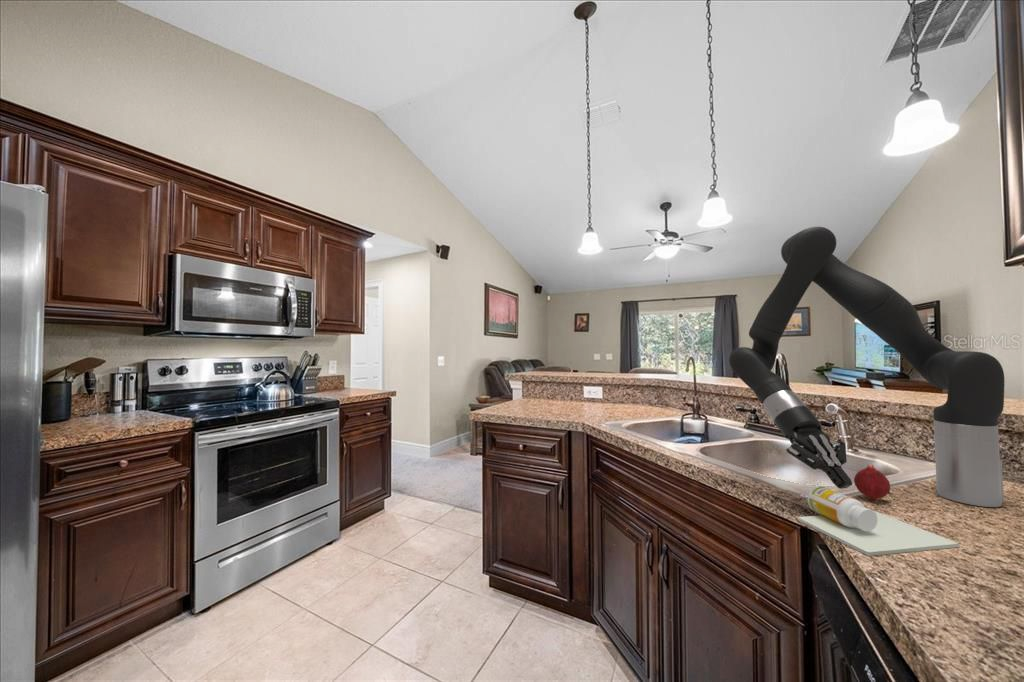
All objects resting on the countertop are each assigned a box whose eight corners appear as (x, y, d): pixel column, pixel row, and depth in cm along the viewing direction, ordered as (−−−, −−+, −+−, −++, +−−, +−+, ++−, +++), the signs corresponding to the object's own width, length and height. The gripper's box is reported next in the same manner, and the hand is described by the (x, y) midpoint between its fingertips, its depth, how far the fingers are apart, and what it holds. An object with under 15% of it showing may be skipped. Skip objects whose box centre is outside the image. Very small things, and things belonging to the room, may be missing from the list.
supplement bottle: (825, 515, 76) (875, 540, 66) (802, 506, 76) (850, 529, 66) (834, 491, 76) (885, 511, 67) (811, 481, 76) (860, 501, 66)
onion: (898, 506, 80) (896, 469, 80) (867, 504, 81) (865, 467, 81) (877, 496, 85) (876, 461, 85) (848, 494, 86) (847, 460, 87)
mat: (875, 513, 76) (875, 511, 76) (958, 547, 63) (958, 543, 63) (797, 520, 74) (797, 517, 74) (868, 555, 61) (868, 552, 61)
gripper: (773, 405, 82) (829, 480, 70) (826, 403, 84) (889, 476, 71) (755, 424, 87) (805, 497, 75) (805, 422, 89) (861, 493, 76)
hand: (846, 486), depth 73 cm, fingers closed
